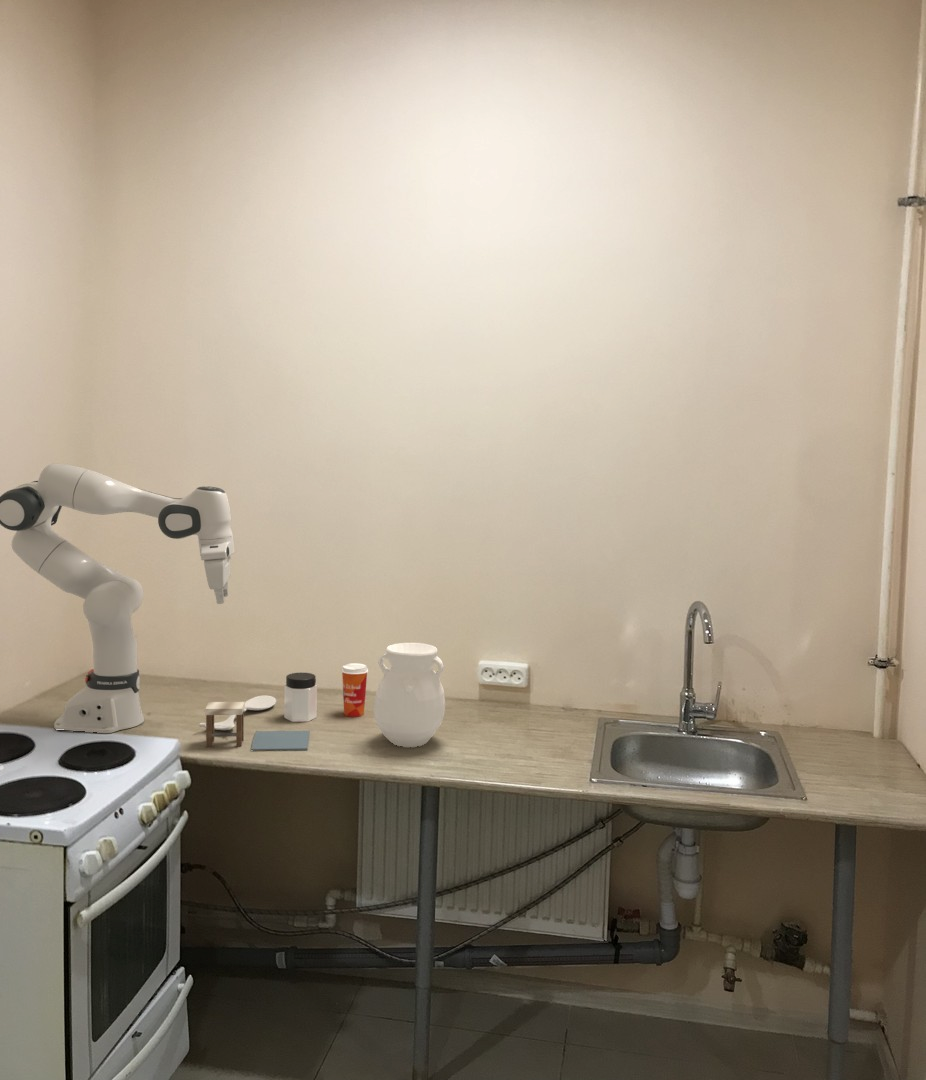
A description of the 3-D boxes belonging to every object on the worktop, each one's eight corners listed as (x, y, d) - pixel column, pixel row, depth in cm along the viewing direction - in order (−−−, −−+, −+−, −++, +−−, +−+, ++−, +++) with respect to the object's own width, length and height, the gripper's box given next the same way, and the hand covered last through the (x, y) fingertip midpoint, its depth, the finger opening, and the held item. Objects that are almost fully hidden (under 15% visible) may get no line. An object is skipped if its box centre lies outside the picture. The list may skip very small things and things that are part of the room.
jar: (321, 719, 257) (322, 677, 256) (295, 724, 252) (295, 681, 251) (305, 711, 264) (305, 670, 263) (279, 716, 259) (280, 674, 257)
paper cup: (335, 715, 261) (335, 667, 260) (350, 708, 268) (351, 661, 266) (357, 719, 258) (358, 671, 256) (373, 712, 264) (374, 665, 263)
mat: (250, 751, 230) (250, 749, 230) (256, 733, 244) (256, 731, 244) (307, 750, 232) (307, 748, 232) (309, 732, 245) (309, 730, 245)
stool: (205, 747, 231) (205, 708, 230) (208, 739, 237) (208, 702, 236) (241, 747, 232) (242, 708, 231) (244, 739, 238) (244, 701, 237)
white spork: (197, 735, 241) (197, 722, 241) (253, 702, 272) (253, 690, 272) (228, 738, 239) (228, 725, 239) (281, 705, 270) (281, 693, 270)
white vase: (452, 734, 247) (455, 643, 244) (432, 756, 230) (434, 659, 227) (387, 726, 252) (389, 637, 249) (362, 748, 235) (364, 652, 232)
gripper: (209, 543, 250) (215, 593, 252) (199, 554, 230) (205, 608, 232) (233, 541, 251) (238, 591, 253) (225, 552, 231) (231, 606, 233)
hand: (222, 599), depth 242 cm, fingers open, 8 cm apart
